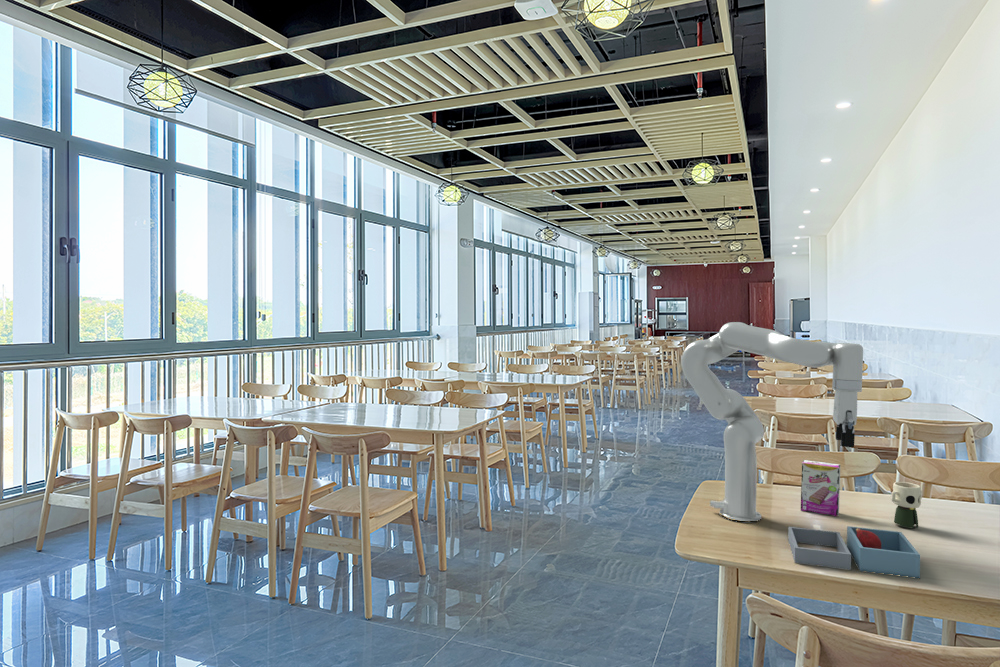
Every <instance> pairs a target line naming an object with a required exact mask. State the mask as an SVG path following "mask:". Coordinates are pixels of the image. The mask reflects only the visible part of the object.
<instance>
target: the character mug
mask: <svg viewBox="0 0 1000 667" xmlns="http://www.w3.org/2000/svg"><path fill="white" fill-rule="evenodd" d="M922 491H923V490H922V487H921V486H920V485H919V484H916V483H912V482H906V481H895V482H893V485H892V491H891V502H893V504H894V505H896V508H895V512H894V520H893V523H894V524H896V525H899V526H900V527H901V528H907V529H915V528H916V529H918V528H919V518H918V511H917V508H920V506H921V505H922V501H921V500H922V499H923V498H922V496H923V492H922ZM914 527H915V528H914Z"/></svg>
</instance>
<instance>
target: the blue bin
mask: <svg viewBox="0 0 1000 667" xmlns="http://www.w3.org/2000/svg"><path fill="white" fill-rule="evenodd" d="M857 528H859V529H861V530H866V531H870V532H872V533H874V534H876V535H877V536H878V537H879V539H880V541H881V549H874V548H866V547H863V546H862V545H861V543H860V541H859V540H858V538H857V536H856V535H857V531H856V529H857ZM846 546H847V548H848V550H849V552H850V553H851V559H852V560H853V561H854V563H855V565H856V567H857V569H858V568H859V569H858V570H860V571H859V572H863V571H866V572H865V573H871V572H875V573H874V574H878V573H884V574H883V575H886V574H893V575H892V576H894V575H900V576H899V577H902V576H908V577H907V578H909V577H915V578H914V579H917V578H920V579H921V554H920V553H919V551H918V550H917V549H916V548H915V547H914V545H913V544H912V543H911V542H910V540H909V539H908V538H907V537H906V536H905V535H904V533H903V532H902V531H896V530H888V529H879V528H878V529H877V528H871V527H868V528H867V527H858V526H849V525H847V528H846Z"/></svg>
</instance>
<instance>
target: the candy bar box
mask: <svg viewBox="0 0 1000 667" xmlns="http://www.w3.org/2000/svg"><path fill="white" fill-rule="evenodd" d="M800 485H801V486H800V488H801V489H800V491H801V492H800V511H802V512H808V513H812V514H813V513H814V514H819V515H827V516H832V517H839V513H840V490H841V488H840V487H841V486H840V485H841V464H838V463H830V462H824V461H823V462H822V461H817V460H808V459H803V461H802V462H801V484H800Z"/></svg>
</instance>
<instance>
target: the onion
mask: <svg viewBox="0 0 1000 667" xmlns="http://www.w3.org/2000/svg"><path fill="white" fill-rule="evenodd" d="M856 531H857V535H856V536H857V538H858V540H859V541H860V543H861V545H862V546H863V547H866V548H874V549H881V541H880V539H879V537H878V536H877V535H876V534H874V533H872V532H870V531H866V530H861V529H859V528H857V529H856Z"/></svg>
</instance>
